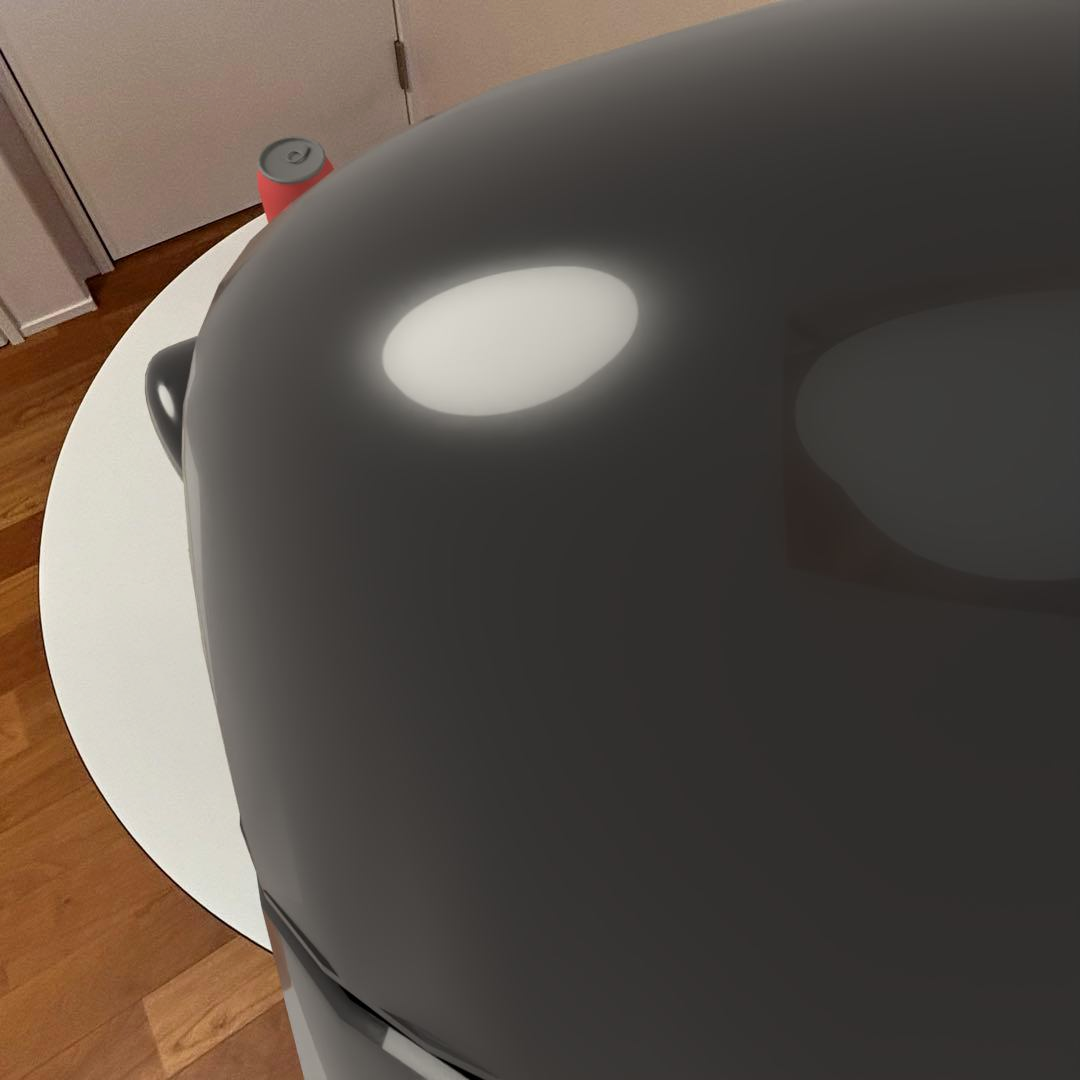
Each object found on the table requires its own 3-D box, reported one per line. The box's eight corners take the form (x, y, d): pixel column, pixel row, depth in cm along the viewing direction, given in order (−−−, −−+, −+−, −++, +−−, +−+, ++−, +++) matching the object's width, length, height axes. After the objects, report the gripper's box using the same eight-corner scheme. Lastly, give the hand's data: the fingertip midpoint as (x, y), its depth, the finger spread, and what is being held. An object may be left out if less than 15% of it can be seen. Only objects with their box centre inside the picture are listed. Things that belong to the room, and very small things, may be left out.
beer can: (369, 258, 91) (347, 149, 80) (324, 303, 88) (296, 196, 78) (313, 231, 93) (285, 121, 82) (268, 274, 90) (233, 165, 79)
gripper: (853, 681, 46) (780, 782, 60) (823, 439, 54) (764, 579, 68) (695, 675, 47) (659, 777, 61) (686, 434, 54) (655, 575, 68)
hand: (714, 672), depth 64 cm, fingers open, 8 cm apart
